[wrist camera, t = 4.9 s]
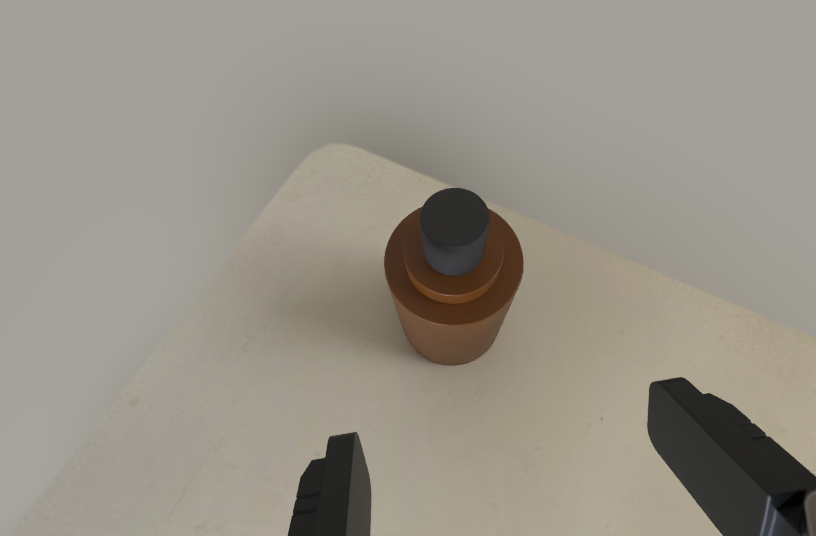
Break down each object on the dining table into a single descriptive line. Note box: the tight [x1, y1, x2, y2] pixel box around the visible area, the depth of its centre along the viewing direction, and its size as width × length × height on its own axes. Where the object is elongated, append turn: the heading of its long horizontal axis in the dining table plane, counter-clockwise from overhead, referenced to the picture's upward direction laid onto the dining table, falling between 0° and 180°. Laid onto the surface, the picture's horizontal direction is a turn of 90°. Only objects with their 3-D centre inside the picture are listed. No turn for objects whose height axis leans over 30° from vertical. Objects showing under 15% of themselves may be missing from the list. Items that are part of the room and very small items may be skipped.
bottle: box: [384, 188, 523, 365], centre depth 20 cm, size 6×6×12 cm
